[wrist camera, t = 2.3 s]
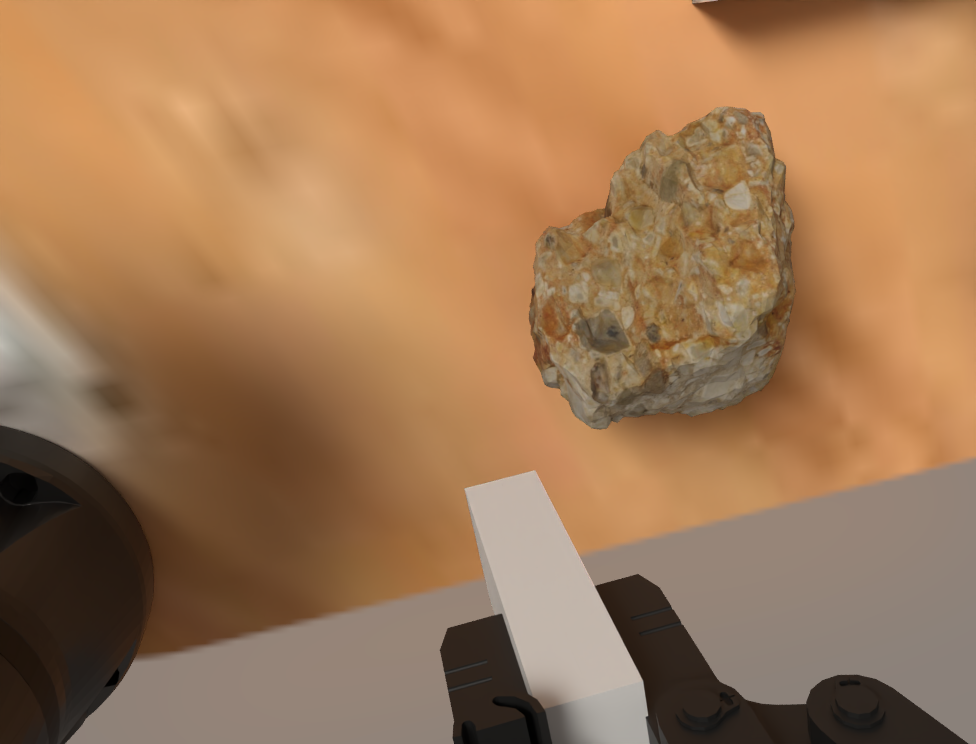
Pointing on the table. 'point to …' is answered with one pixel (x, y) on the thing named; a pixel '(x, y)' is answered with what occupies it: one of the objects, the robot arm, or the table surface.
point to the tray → (699, 0)
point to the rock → (670, 278)
